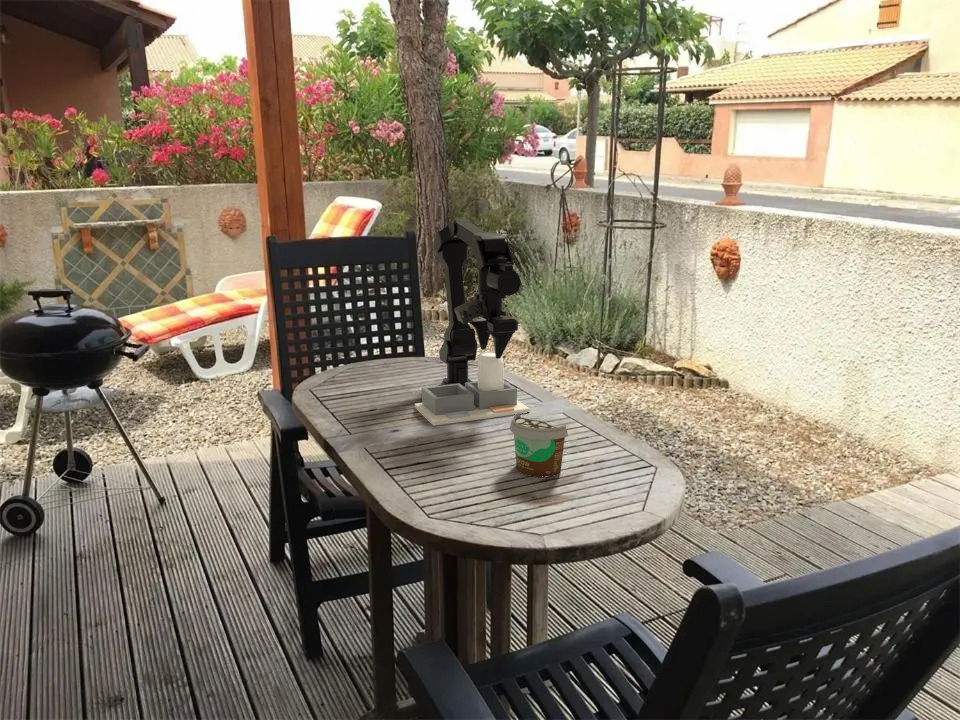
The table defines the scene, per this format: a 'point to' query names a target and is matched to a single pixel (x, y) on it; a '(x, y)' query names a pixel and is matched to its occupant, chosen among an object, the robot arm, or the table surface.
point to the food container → (538, 446)
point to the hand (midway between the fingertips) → (490, 353)
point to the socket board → (467, 403)
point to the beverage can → (490, 372)
